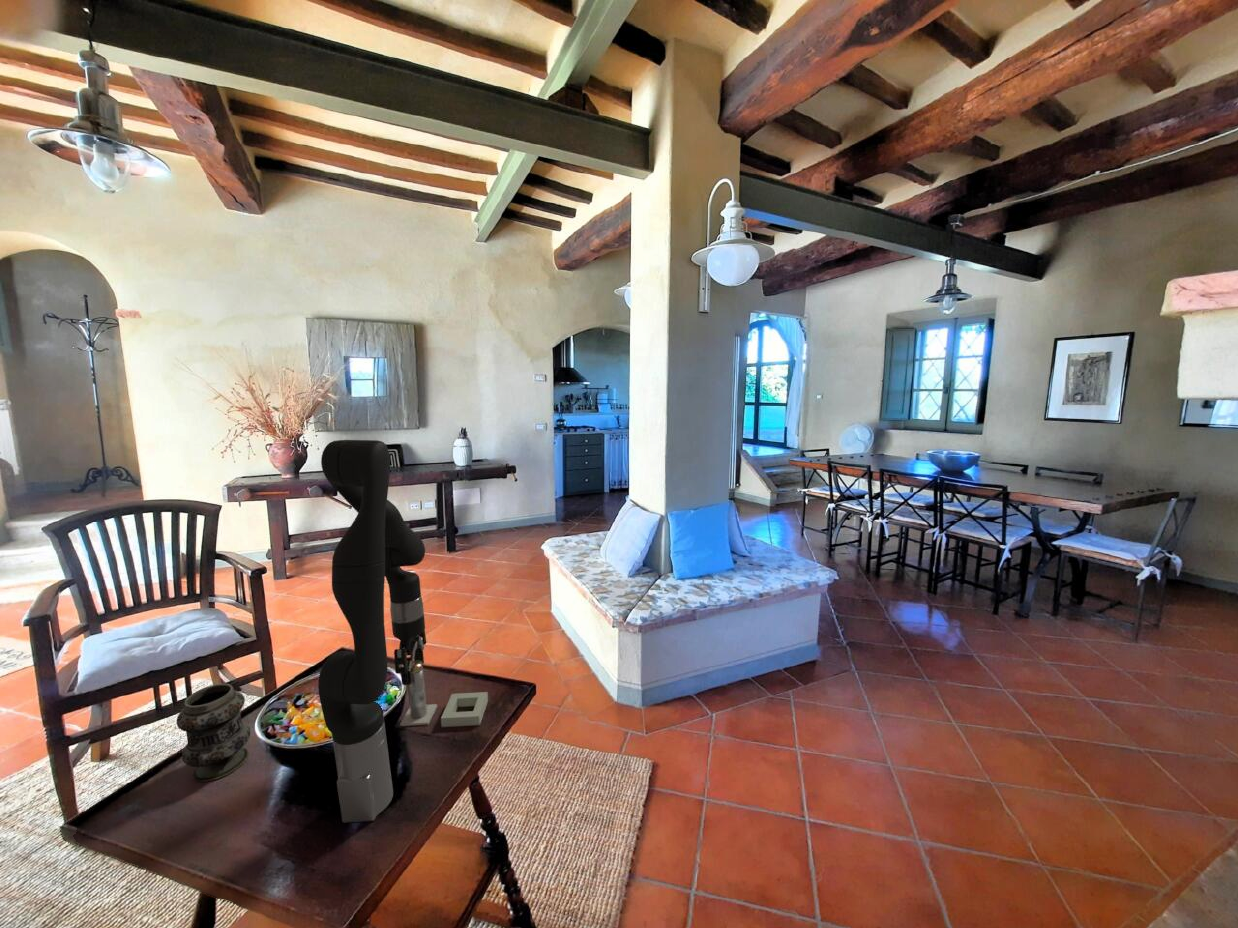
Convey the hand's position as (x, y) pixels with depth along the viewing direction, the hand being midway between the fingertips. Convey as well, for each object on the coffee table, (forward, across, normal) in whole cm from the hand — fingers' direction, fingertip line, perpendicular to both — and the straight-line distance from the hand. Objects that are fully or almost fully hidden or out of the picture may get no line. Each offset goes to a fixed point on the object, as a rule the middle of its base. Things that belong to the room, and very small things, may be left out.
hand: (413, 673), depth 123 cm
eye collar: (+12, 0, -12) cm, 17 cm away
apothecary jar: (+13, -12, +40) cm, 44 cm away
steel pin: (+12, 0, 0) cm, 12 cm away
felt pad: (+12, 0, 0) cm, 12 cm away
